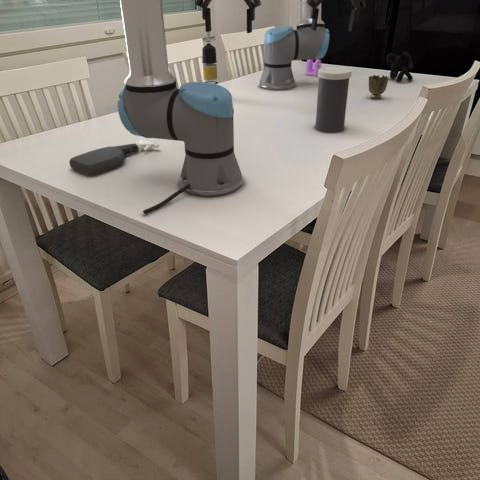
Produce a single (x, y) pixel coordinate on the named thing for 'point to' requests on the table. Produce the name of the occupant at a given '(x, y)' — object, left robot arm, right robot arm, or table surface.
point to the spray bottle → (106, 157)
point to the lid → (334, 73)
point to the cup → (377, 85)
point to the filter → (209, 61)
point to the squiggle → (399, 66)
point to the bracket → (310, 67)
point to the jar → (331, 105)
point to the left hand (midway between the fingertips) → (228, 32)
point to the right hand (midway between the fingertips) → (332, 30)
